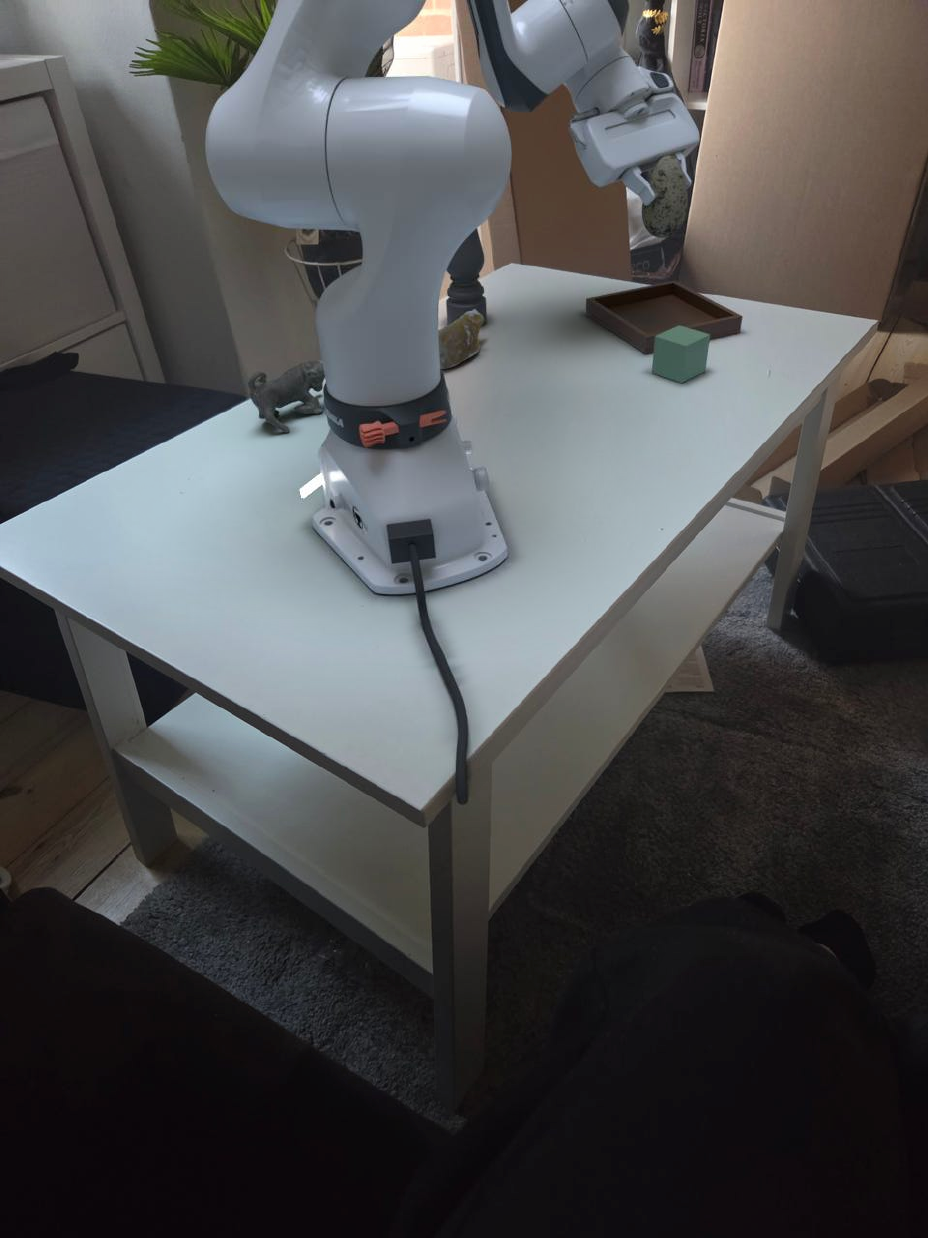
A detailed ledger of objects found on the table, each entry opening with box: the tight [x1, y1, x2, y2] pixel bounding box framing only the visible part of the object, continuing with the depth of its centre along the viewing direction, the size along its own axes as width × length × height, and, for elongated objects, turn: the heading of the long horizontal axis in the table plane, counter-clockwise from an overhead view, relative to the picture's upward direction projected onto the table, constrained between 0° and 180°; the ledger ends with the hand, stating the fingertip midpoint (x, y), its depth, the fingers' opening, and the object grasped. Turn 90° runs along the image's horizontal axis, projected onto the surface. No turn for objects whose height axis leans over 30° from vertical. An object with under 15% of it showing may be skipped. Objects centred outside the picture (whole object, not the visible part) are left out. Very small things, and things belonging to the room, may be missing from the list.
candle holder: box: [445, 227, 488, 327], centre depth 122 cm, size 6×6×25 cm
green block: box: [651, 325, 711, 384], centre depth 110 cm, size 5×5×5 cm
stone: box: [438, 309, 484, 370], centre depth 118 cm, size 7×6×15 cm
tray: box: [585, 280, 743, 355], centre depth 124 cm, size 18×16×2 cm
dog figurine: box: [247, 360, 325, 433], centre depth 106 cm, size 12×6×7 cm, turn 138°
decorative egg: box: [641, 155, 689, 239], centre depth 112 cm, size 6×6×10 cm
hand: (669, 194), depth 111 cm, fingers closed on decorative egg, 6 cm apart
